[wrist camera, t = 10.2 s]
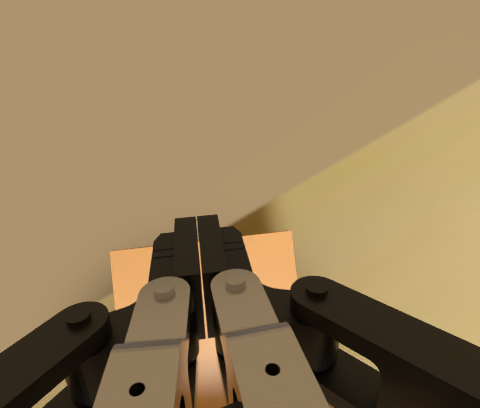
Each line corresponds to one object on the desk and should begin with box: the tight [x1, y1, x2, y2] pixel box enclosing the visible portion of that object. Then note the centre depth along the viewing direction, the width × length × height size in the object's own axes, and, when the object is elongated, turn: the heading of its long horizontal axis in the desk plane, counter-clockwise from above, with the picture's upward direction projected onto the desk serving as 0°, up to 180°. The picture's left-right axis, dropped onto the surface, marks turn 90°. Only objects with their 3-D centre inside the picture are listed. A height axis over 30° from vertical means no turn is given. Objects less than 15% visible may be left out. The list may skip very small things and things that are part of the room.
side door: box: [110, 231, 297, 408], centre depth 23 cm, size 11×2×15 cm
